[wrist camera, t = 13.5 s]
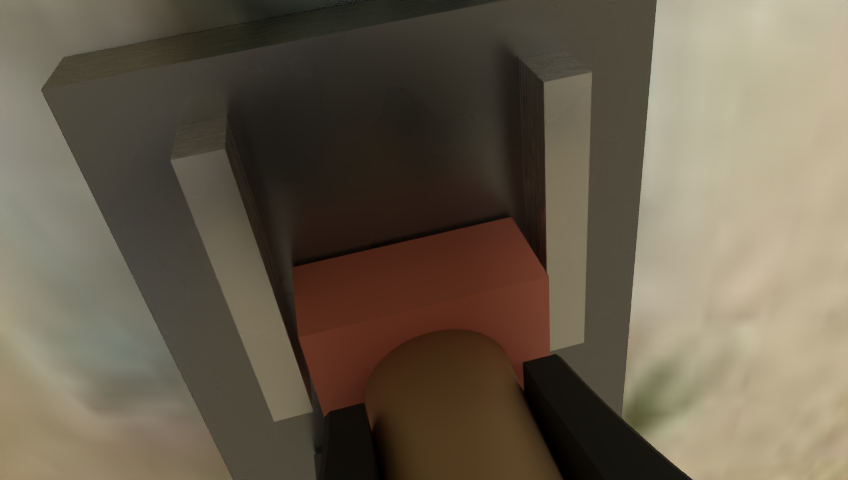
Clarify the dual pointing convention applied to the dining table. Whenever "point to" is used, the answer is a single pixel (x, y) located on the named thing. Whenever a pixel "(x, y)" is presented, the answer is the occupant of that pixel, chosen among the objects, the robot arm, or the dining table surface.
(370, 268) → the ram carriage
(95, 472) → the dining table surface
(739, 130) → the dining table surface
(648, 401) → the dining table surface
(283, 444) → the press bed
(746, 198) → the dining table surface
